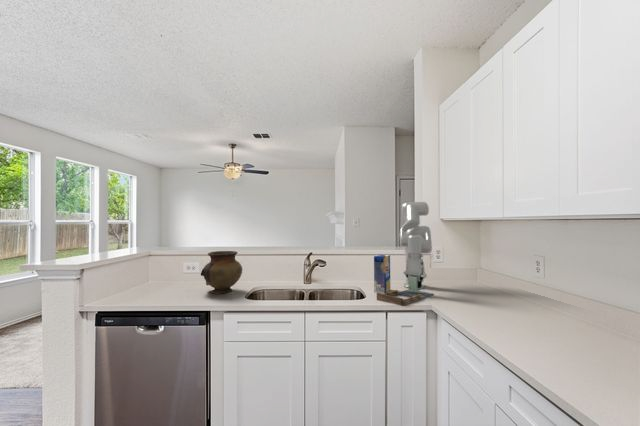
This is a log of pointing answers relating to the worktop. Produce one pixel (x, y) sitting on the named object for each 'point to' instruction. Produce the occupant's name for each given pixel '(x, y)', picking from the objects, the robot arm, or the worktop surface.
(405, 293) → the mat
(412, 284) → the block
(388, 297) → the brown wooden frame
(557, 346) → the worktop surface
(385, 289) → the beverage box
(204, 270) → the pot
